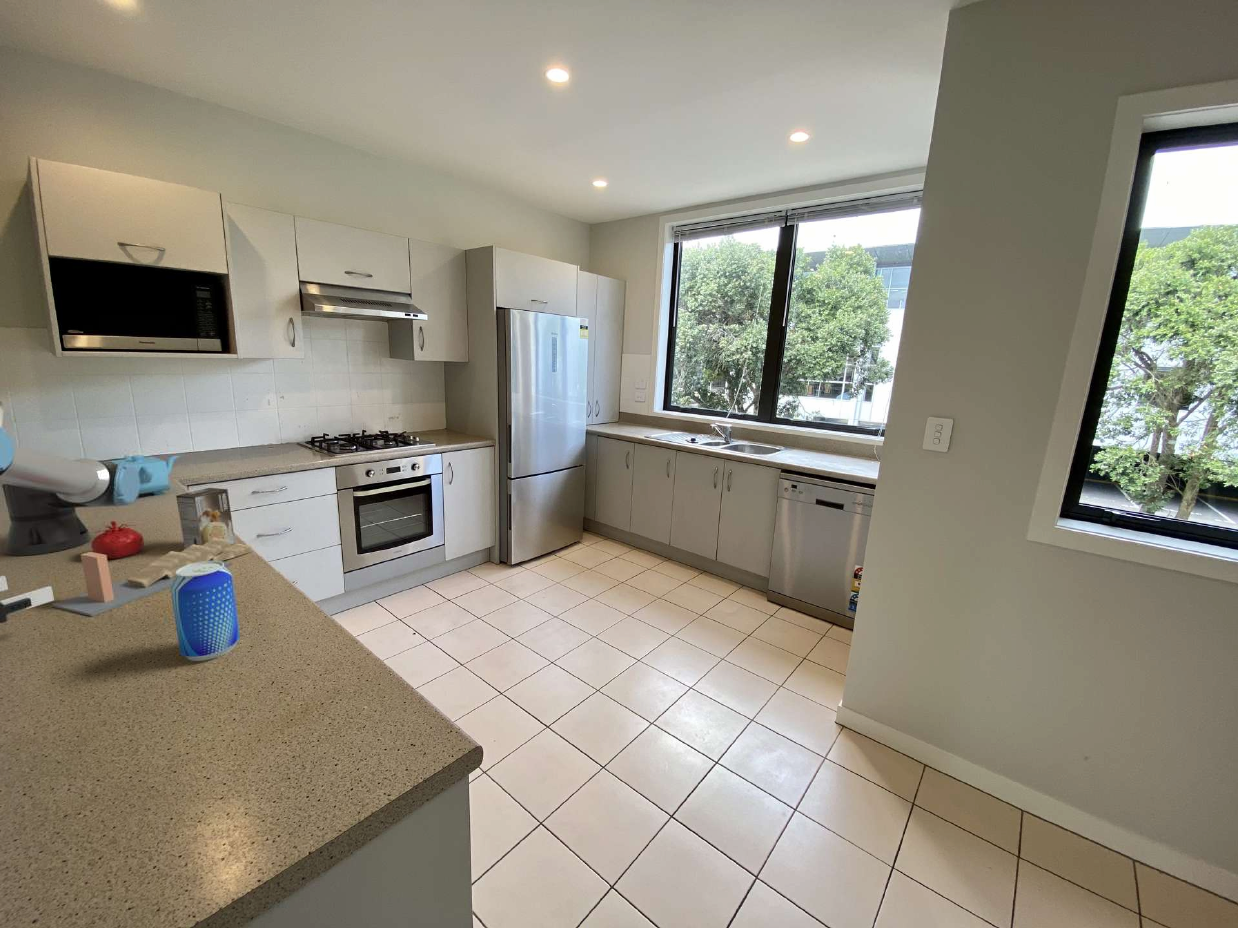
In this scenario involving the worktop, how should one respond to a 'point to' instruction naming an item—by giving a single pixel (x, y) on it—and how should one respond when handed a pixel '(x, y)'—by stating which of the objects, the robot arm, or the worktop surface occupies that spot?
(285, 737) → the worktop surface
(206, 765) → the worktop surface
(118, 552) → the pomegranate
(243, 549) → the wooden block
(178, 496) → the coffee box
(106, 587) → the tile
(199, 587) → the beer can
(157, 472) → the teakettle
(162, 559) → the tile
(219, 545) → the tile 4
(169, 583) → the slate board
